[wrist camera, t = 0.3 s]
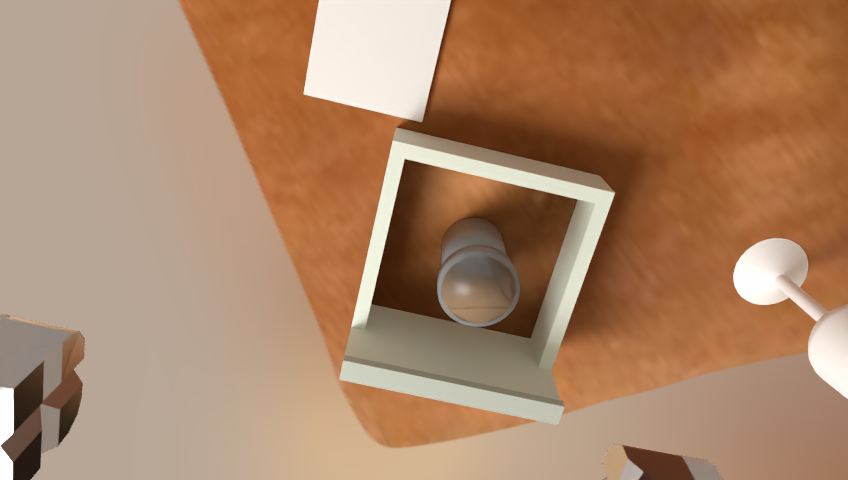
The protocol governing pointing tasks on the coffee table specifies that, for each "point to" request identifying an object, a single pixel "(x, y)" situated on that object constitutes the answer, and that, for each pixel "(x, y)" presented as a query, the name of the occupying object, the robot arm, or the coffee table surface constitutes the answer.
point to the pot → (476, 274)
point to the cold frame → (466, 345)
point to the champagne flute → (782, 278)
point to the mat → (376, 53)
